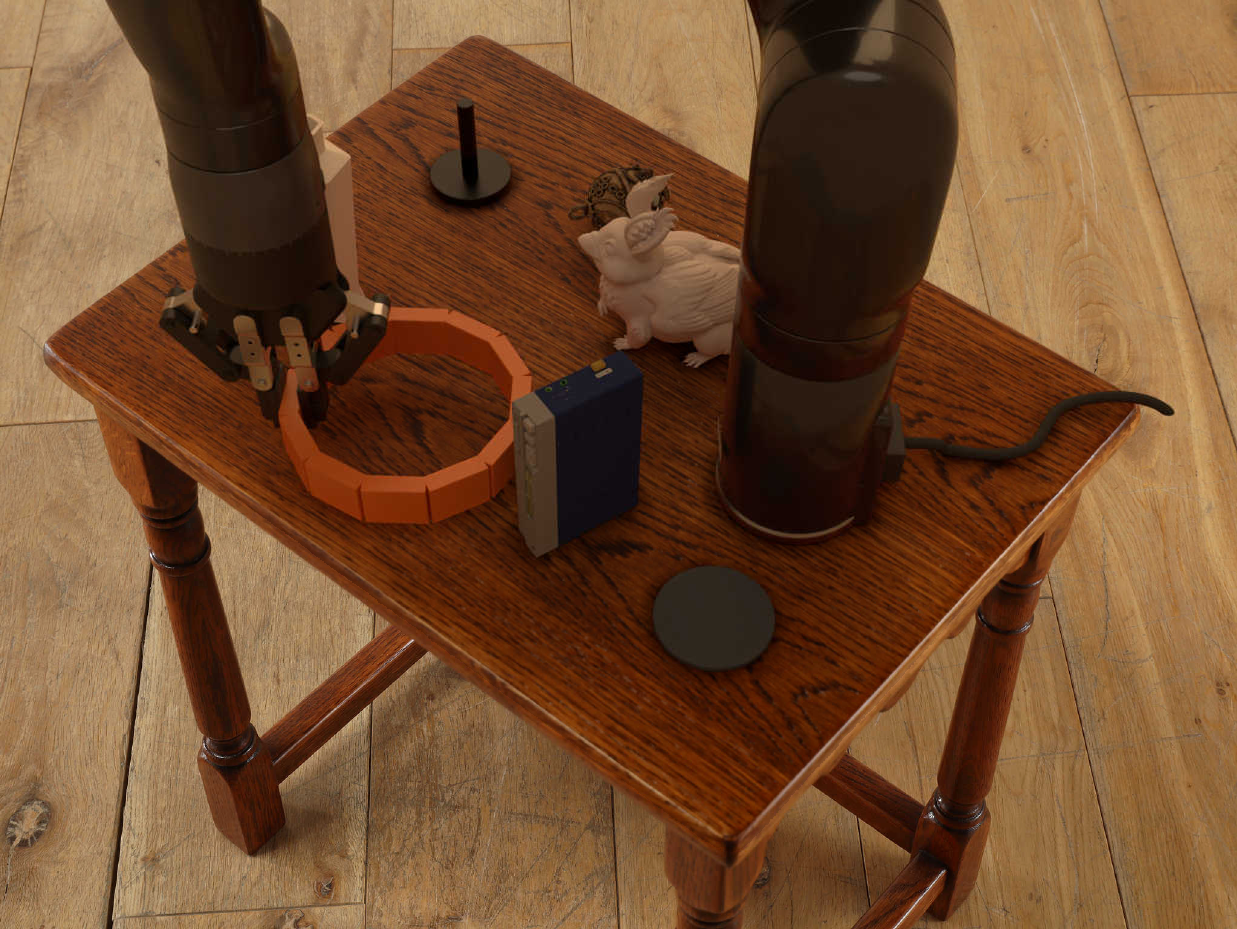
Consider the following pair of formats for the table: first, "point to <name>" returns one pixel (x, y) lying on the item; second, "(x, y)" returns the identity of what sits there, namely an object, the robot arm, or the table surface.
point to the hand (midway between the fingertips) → (299, 418)
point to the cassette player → (578, 451)
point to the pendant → (615, 195)
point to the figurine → (665, 278)
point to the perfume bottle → (338, 204)
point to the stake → (469, 168)
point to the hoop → (408, 493)
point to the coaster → (713, 618)
